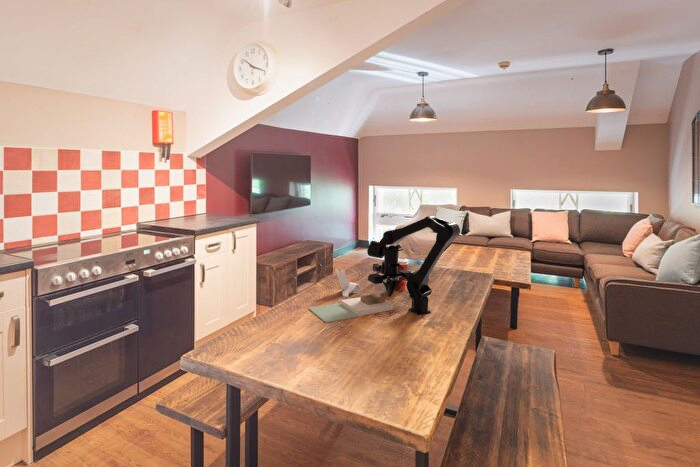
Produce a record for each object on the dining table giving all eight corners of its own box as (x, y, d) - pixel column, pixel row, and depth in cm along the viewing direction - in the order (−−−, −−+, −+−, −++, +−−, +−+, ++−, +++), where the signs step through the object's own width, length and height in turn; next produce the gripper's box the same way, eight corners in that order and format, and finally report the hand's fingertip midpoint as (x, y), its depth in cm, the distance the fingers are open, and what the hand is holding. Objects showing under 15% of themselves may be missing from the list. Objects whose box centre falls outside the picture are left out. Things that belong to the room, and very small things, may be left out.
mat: (359, 316, 156) (359, 315, 156) (325, 322, 150) (325, 321, 150) (339, 304, 170) (339, 303, 170) (308, 308, 163) (308, 308, 163)
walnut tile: (377, 298, 173) (377, 293, 172) (384, 302, 167) (385, 297, 167) (360, 300, 169) (360, 296, 168) (368, 305, 164) (368, 300, 163)
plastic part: (360, 292, 187) (361, 267, 185) (347, 297, 179) (348, 271, 177) (346, 289, 191) (347, 264, 190) (333, 293, 183) (334, 268, 182)
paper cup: (408, 291, 189) (409, 262, 187) (391, 291, 189) (392, 261, 187) (406, 286, 197) (407, 258, 194) (390, 286, 197) (391, 257, 194)
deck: (392, 309, 165) (392, 305, 164) (357, 316, 157) (357, 311, 157) (373, 299, 177) (373, 295, 177) (340, 304, 169) (340, 300, 169)
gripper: (398, 254, 181) (396, 288, 183) (361, 258, 172) (360, 293, 174) (413, 259, 171) (411, 295, 174) (375, 263, 162) (374, 301, 165)
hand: (389, 296), depth 172 cm, fingers closed
